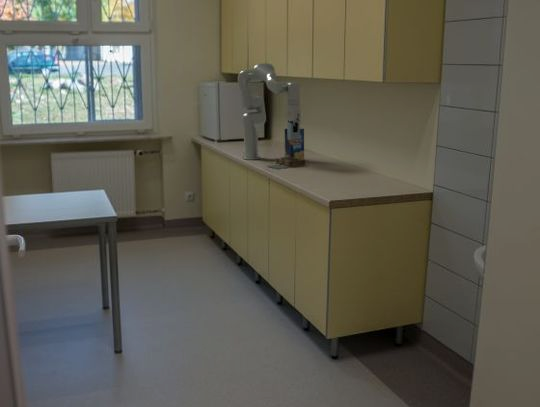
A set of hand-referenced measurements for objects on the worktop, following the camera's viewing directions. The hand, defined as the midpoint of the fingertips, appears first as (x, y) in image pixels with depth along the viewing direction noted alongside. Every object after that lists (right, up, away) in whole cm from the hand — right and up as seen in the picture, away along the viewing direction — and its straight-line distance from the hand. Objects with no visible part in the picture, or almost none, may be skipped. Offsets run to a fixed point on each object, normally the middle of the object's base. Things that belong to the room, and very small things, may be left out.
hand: (293, 131), depth 379 cm
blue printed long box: (+2, -18, +22) cm, 28 cm away
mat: (-10, -23, 0) cm, 25 cm away
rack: (-2, -20, +8) cm, 22 cm away
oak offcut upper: (-5, -17, +12) cm, 22 cm away
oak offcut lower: (-4, -20, +13) cm, 24 cm away
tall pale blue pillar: (0, -5, +1) cm, 5 cm away
